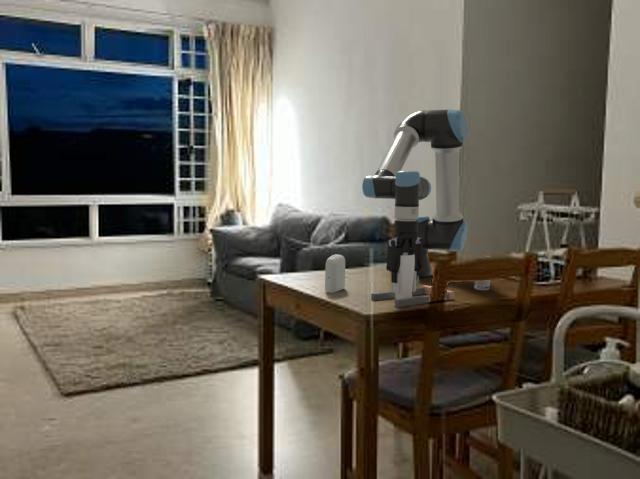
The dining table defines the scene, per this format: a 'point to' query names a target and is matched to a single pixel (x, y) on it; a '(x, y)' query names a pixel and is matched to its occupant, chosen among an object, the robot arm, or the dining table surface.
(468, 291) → the dining table surface
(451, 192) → the robot arm
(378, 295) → the guide channel
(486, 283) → the energy drink
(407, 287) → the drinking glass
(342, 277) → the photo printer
